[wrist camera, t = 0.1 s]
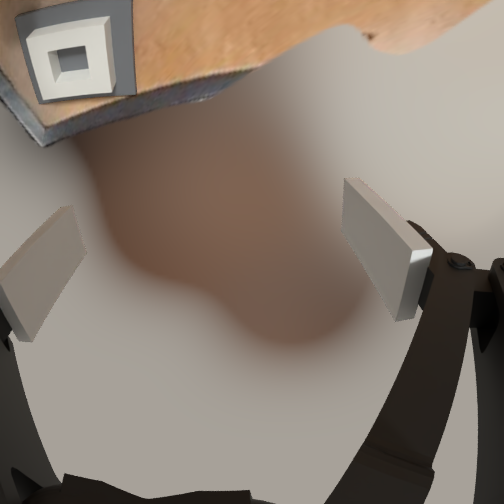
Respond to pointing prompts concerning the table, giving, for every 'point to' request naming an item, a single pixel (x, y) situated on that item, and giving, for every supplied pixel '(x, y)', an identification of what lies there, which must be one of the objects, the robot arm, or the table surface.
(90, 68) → the socket
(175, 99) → the table surface
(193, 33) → the table surface
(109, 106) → the table surface
